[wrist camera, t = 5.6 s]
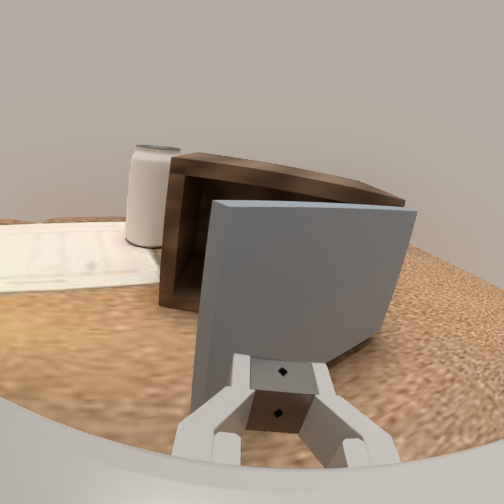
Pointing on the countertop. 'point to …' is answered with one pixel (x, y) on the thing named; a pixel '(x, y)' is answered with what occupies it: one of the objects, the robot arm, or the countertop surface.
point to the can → (148, 194)
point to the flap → (293, 282)
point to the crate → (233, 188)
